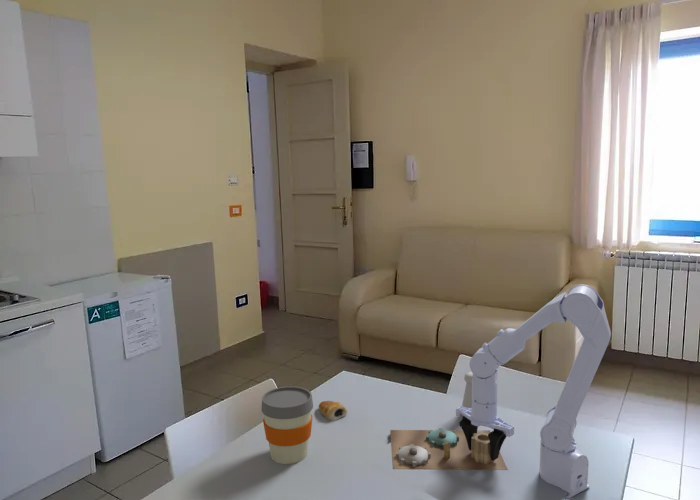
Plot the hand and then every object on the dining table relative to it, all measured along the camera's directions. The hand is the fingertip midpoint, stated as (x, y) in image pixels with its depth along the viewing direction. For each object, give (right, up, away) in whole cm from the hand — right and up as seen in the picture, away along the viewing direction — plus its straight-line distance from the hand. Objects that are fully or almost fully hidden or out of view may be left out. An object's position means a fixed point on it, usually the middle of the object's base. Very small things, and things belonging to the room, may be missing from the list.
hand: (483, 453), depth 121 cm
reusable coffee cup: (-47, -3, +6) cm, 47 cm away
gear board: (-8, -2, +5) cm, 10 cm away
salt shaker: (+3, +1, +23) cm, 23 cm away
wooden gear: (0, -1, 0) cm, 1 cm away
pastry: (-37, 0, +26) cm, 45 cm away
